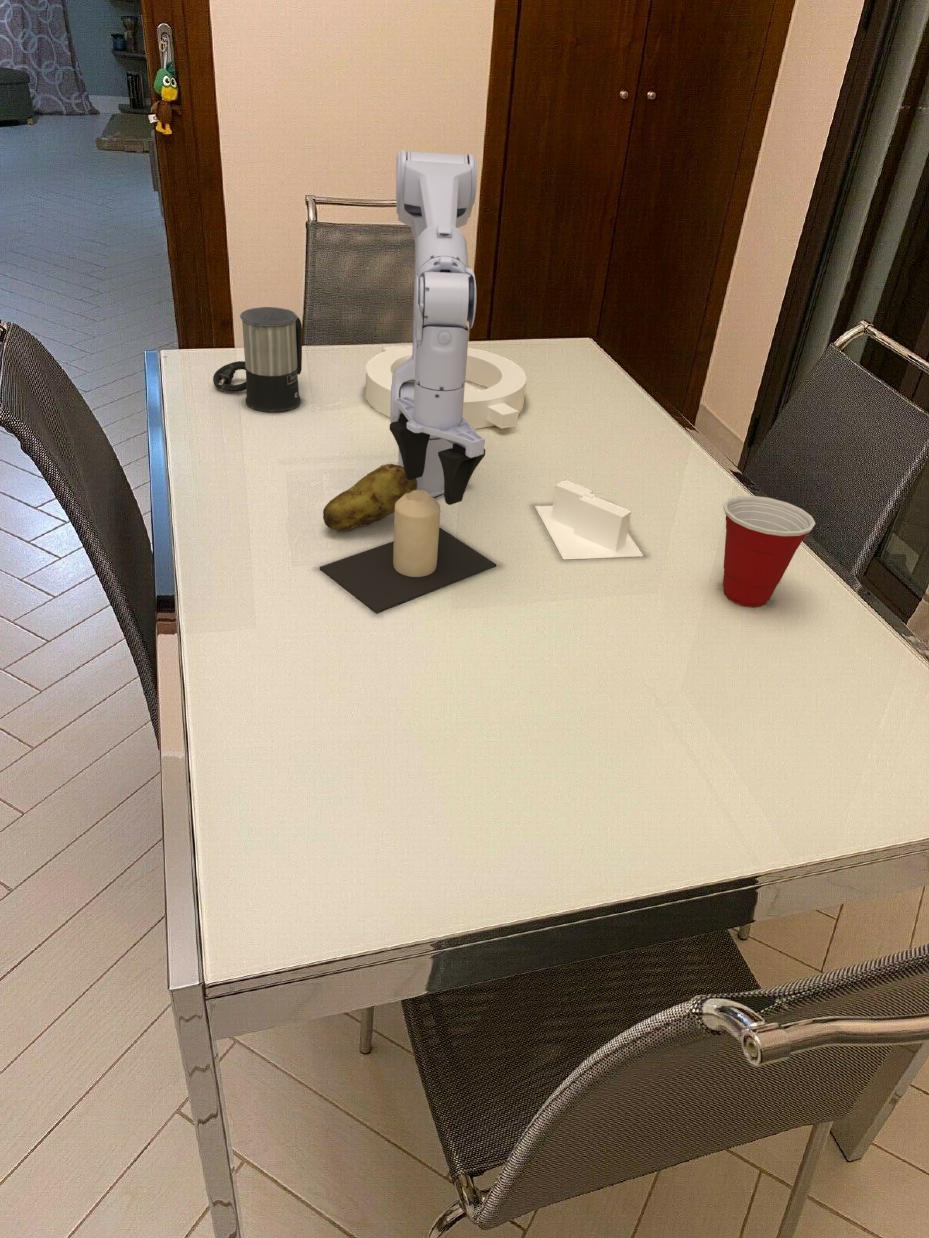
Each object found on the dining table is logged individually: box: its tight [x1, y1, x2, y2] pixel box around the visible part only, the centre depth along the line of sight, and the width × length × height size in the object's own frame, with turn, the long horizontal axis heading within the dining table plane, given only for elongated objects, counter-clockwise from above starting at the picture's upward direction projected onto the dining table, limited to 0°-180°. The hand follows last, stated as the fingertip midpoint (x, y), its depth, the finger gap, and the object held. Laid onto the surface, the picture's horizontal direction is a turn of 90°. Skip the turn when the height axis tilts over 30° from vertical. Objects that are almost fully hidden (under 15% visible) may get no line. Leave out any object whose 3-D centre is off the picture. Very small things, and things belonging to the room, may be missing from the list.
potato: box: [322, 463, 417, 532], centre depth 125 cm, size 8×13×8 cm, turn 102°
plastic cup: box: [722, 495, 817, 608], centre depth 116 cm, size 11×11×12 cm
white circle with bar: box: [365, 344, 527, 430], centre depth 166 cm, size 28×28×5 cm
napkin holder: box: [534, 479, 644, 560], centre depth 129 cm, size 15×11×6 cm
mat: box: [319, 526, 498, 614], centre depth 119 cm, size 19×12×1 cm, turn 130°
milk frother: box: [212, 306, 303, 413], centre depth 157 cm, size 14×16×15 cm
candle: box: [393, 490, 441, 577], centre depth 116 cm, size 6×6×10 cm
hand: (433, 489), depth 114 cm, fingers open, 7 cm apart
